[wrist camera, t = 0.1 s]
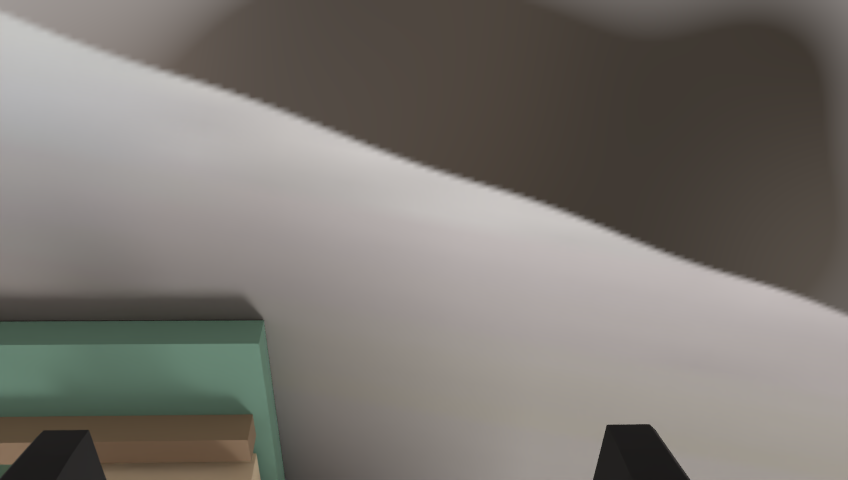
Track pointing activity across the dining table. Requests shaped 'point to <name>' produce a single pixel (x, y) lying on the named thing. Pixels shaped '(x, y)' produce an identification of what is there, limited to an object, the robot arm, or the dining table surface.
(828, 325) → the dining table surface
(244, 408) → the pitch
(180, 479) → the beige block
